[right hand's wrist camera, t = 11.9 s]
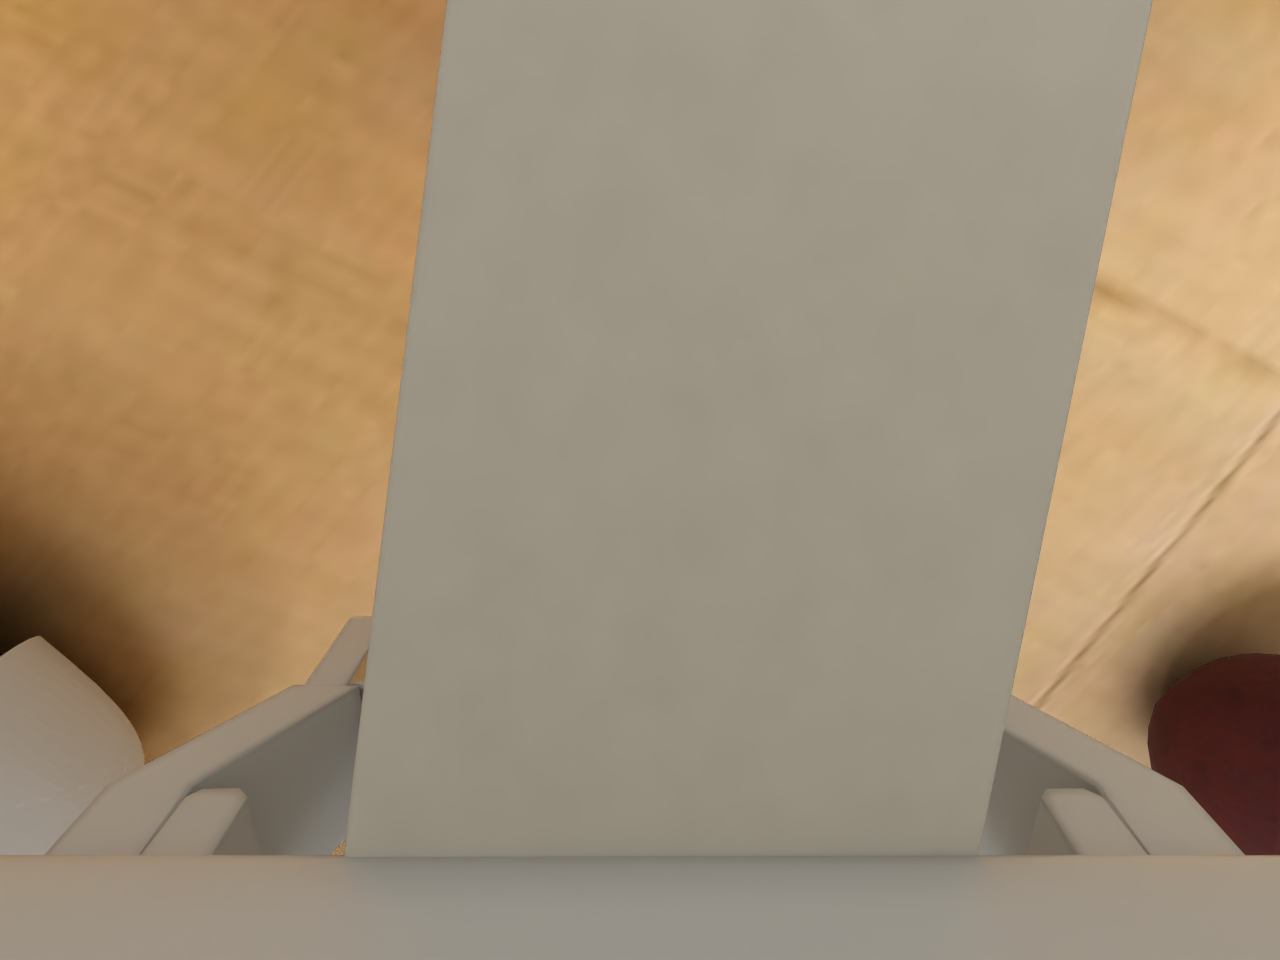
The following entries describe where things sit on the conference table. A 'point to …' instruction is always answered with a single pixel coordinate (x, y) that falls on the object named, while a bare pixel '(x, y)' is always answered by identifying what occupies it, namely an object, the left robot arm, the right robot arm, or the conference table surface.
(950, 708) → the bar
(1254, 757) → the potato
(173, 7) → the conference table surface
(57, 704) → the white rounded device
